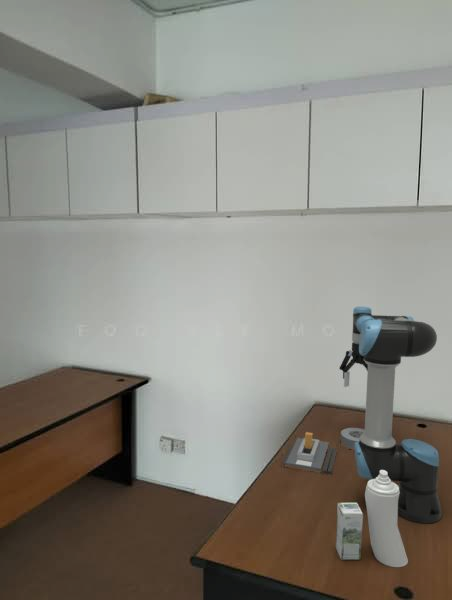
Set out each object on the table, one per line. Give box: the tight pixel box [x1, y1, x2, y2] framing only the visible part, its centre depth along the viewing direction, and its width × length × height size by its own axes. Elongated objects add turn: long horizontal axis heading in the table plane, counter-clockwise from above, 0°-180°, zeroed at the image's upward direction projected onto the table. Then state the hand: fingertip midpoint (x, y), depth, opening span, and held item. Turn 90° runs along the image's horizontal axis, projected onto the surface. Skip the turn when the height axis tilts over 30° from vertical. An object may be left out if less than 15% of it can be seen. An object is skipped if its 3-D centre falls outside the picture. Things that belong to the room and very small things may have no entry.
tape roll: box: [340, 427, 365, 449], centre depth 207 cm, size 15×15×5 cm
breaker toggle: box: [304, 431, 314, 454], centre depth 194 cm, size 3×3×8 cm
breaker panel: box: [281, 437, 338, 475], centre depth 194 cm, size 26×20×4 cm
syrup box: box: [335, 502, 364, 561], centre depth 132 cm, size 6×6×14 cm
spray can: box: [364, 470, 409, 568], centre depth 131 cm, size 12×11×25 cm
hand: (359, 390), depth 202 cm, fingers open, 13 cm apart
